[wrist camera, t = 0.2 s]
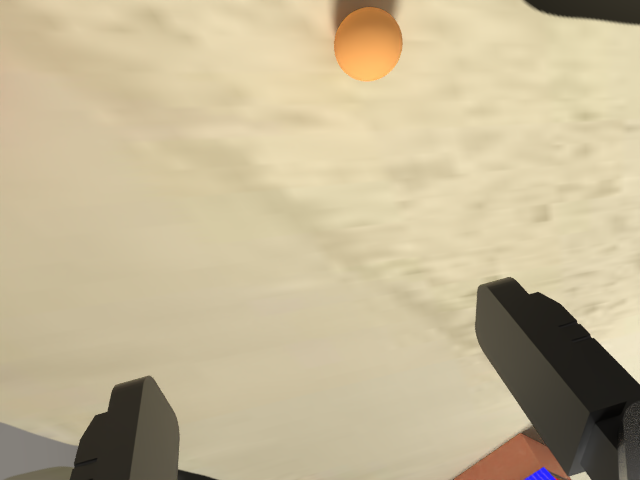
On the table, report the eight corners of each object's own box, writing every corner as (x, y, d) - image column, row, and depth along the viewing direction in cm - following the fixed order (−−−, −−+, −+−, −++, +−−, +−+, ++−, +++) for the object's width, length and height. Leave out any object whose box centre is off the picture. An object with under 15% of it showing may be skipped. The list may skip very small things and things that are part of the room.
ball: (322, 11, 33) (339, 20, 29) (386, -4, 33) (411, 4, 29) (332, 78, 36) (348, 96, 32) (391, 64, 36) (414, 80, 32)
